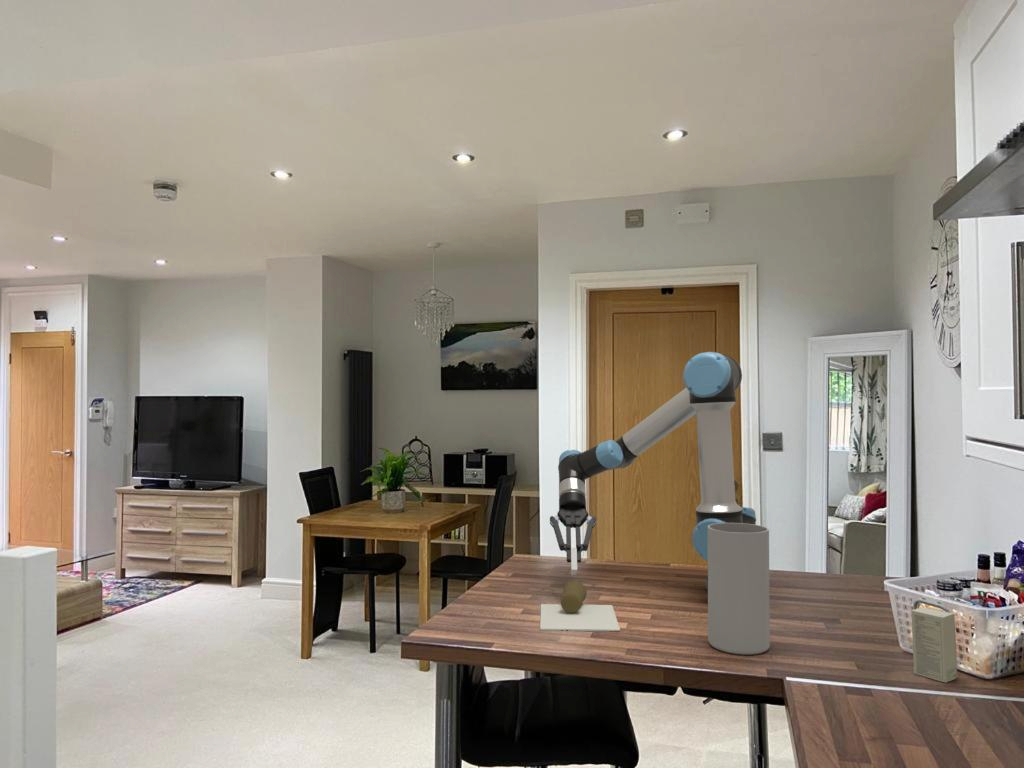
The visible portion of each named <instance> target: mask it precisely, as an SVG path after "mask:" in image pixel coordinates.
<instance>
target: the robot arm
mask: <svg viewBox="0 0 1024 768" xmlns="http://www.w3.org/2000/svg"><path fill="white" fill-rule="evenodd" d="M742 372H743V371H742V368H741V366H740V364H739V362H738V361H737V360H736V359H734V358H733V357H732V356H730V355H728V354H722V353H719V352H716V351H707V352H700V353H698V354H696V355H694V356H693V357H691V358H690V359H689V360H688V362H687V363H686V364H685V367H684V370H683V375H682V377H683V378H682V379H683V382H684V385H685V388H684V389H682V390H681V391H679V392H678V393H677V394H675V395H674V396H673V397H672V398H670V399H669V400H668V401H666V402H665V403H664V404H663V405H662V406H660V407H658V408H657V409H656V410H655V411H653V412H652V413H651V414H650V415H648V416H647V417H646V418H644V419H643V420H641V421H640V422H639V423H637V424H636V425H635V426H633V427H632V428H631V429H629V430H628V431H627V432H626V433H624V434H623V435H622V436H620V437H619V438H618V439H617V440H616V441H615V440H613V439H608V440H607V441H603V442H600V443H599V444H597V445H595V446H592V447H591V448H588V449H586V450H585V451H583V452H581V451H580V450H577V449H571V450H569V449H567V450H565V451H563V452H562V453H560V455H559V459H558V466H557V468H558V469H557V470H558V481H559V482H558V511H557V514H556V515H554V516H553V515H551V516H550V517H549V524H550V526H551V527H552V528H553V532H554V534H555V537H556V541H557V544H558V545H557V546H558V548H559V550H560V551H563V552H564V551H565V552H566V553H565V554H566V562H567V563H570V570H571V571H570V573H571V575H570V576H578V563H580V564H581V562H582V552H587V551H588V548H589V545H590V540H591V538H592V537H591V536H592V532H593V529H594V527H595V526H596V524H597V516H590V515H589V513H588V511H587V498H586V493H587V492H586V480H588V479H590V478H592V477H595V476H597V475H600V474H601V473H605V472H607V471H613V470H617V469H624V468H626V467H628V466H630V465H631V464H633V463H634V461H635V459H636V458H638V457H640V455H642V454H643V453H645V452H646V451H647V450H648V449H650V448H651V447H653V446H654V445H655V444H657V443H658V442H659V441H660V440H662V439H664V438H665V437H666V436H668V435H670V433H672V432H673V431H674V430H676V429H677V428H679V427H680V426H681V425H682V424H684V423H685V422H687V421H688V420H691V418H692V417H694V416H696V430H697V431H696V432H697V433H696V434H697V449H698V450H697V451H698V467H699V484H700V485H699V486H700V504H699V505H698V506H697V507H695V521H696V526H695V527H694V529H693V531H692V536H691V542H692V545H693V548H694V550H695V552H696V554H698V556H700V557H701V558H702V559H703V560H704V561H707V562H708V525H711V524H716V523H745V524H754V525H757V523H756V522H757V518H756V511H755V509H754V508H753V507H745V506H740V505H739V504H738V503H737V502H736V488H735V472H734V453H733V442H732V441H733V436H732V434H733V433H732V423H731V421H732V420H731V418H732V417H731V409H732V408H733V407H734V405H736V401H737V400H736V391H737V389H738V388H739V387H740V385H741V383H742V378H743V373H742ZM585 522H586V523H587V528H586V531H585V535H584V539H583V543H582V539H581V538H582V537H581V533H582V532H581V527H582V526H583V525H584V524H585ZM560 523H561V524H562V525H563V526H564V527H565V537H566V539H565V540H564V538H563V534H562V532H561V528H560V525H559V524H560ZM572 529H574V530H575V547H572ZM704 583H705V585H704V586H705V587H704V588H705V590H706V591H708V573H707V575H706V577H705V582H704Z"/></svg>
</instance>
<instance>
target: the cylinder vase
mask: <svg viewBox="0 0 1024 768" xmlns="http://www.w3.org/2000/svg"><path fill="white" fill-rule="evenodd" d="M707 574H708V590H707V627H708V628H707V636H708V637H707V639H708V643H709V645H711V646H712V648H714V649H717V650H719V651H721V652H725V653H729V654H733V655H744V656H746V655H747V656H748V655H749V656H750V655H758V654H763V653H765V652H766V651H769V649H770V647H771V646H770V645H771V641H770V639H771V634H770V633H771V631H770V630H771V629H770V627H771V626H770V625H771V624H770V623H771V621H770V603H771V602H770V529H769V528H768V527H766V526H763V525H758V524H756V525H754V524H745V523H716V524H711V525H708V561H707Z"/></svg>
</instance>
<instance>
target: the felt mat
mask: <svg viewBox="0 0 1024 768" xmlns="http://www.w3.org/2000/svg"><path fill="white" fill-rule="evenodd" d="M539 620H540V623H539V624H540V626H539V630H540V631H544V632H545V631H548V632H549V631H551V632H552V631H554V632H555V631H556V632H557V631H559V632H561V630H563V632H609V631H620V632H621V627H620V624H619V622H618V618H617V616H616V613H615V610H614V607H613V605H612V604H582V605H581V608H580V609H579V611H577V612H575V613H568V612H566V611H565V610H563V608H562V607H561V603H559V604H557V603H556V604H554V603H553V604H552V603H541V604H540V619H539ZM566 630H568V631H566Z"/></svg>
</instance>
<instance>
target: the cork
mask: <svg viewBox="0 0 1024 768" xmlns="http://www.w3.org/2000/svg"><path fill="white" fill-rule="evenodd" d="M585 586H586V585H584V583H582V582H581V581H579V580H570V581H569V582H567V583H566V584H565V585H564V587H563V592H562V596H561V598H560V604H561V607H562V608H563V610H565V611H566V612H568V613H575V612H577V611H579V609H580V608H581V605H583V602H584V601H585V599H586V597H587V595H588V594H587V588H586V587H585Z"/></svg>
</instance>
